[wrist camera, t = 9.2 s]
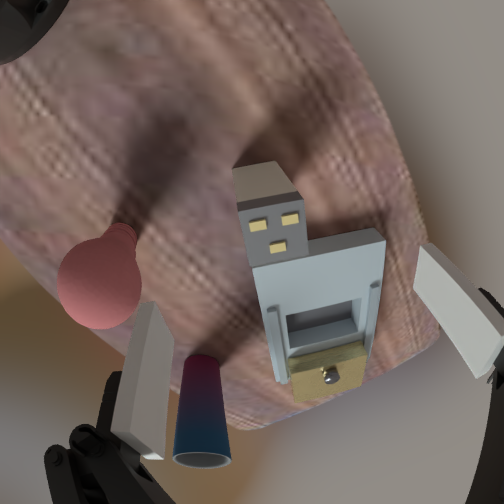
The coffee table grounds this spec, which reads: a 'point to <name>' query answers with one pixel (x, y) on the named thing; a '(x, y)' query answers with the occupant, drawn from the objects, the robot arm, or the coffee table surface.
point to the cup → (201, 416)
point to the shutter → (327, 371)
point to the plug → (270, 213)
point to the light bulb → (101, 279)
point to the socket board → (322, 297)
